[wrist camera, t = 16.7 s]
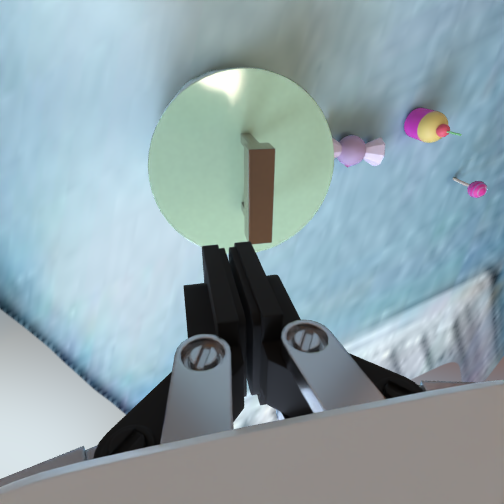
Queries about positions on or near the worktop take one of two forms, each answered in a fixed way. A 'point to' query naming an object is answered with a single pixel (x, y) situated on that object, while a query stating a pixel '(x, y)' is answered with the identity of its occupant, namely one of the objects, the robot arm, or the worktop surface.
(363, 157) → the candies
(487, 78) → the worktop surface
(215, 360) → the robot arm
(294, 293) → the worktop surface
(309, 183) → the lid
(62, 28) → the worktop surface
